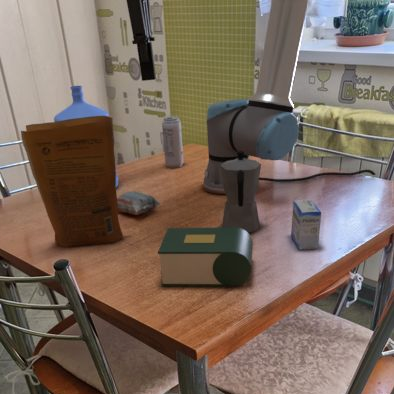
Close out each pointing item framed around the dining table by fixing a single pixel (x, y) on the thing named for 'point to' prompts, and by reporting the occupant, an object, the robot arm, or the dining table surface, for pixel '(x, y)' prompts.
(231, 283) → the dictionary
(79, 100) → the water jug
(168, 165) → the energy drink can
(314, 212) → the medicine box
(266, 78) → the robot arm
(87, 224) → the pancake mix bag
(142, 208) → the packaged food
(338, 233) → the dining table surface
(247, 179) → the coffeepot
